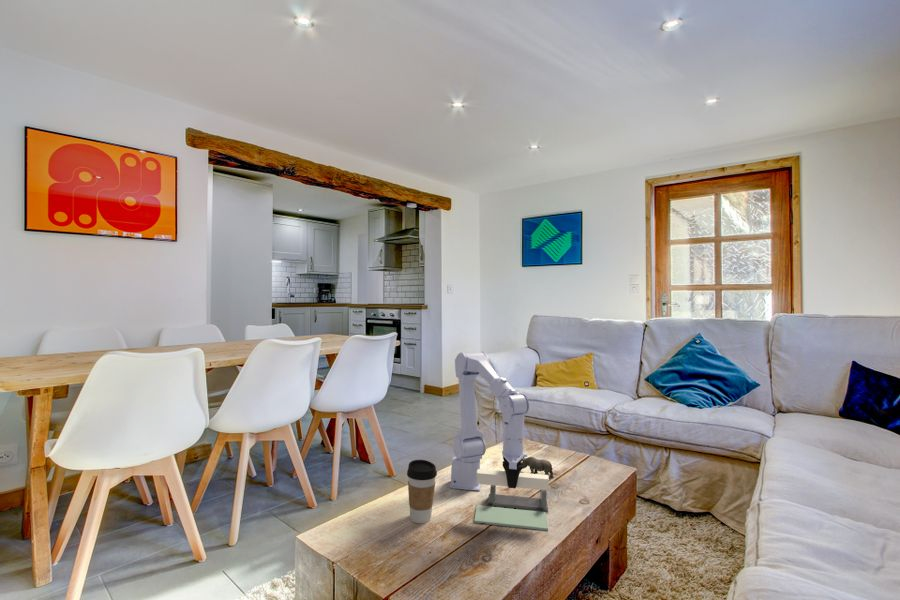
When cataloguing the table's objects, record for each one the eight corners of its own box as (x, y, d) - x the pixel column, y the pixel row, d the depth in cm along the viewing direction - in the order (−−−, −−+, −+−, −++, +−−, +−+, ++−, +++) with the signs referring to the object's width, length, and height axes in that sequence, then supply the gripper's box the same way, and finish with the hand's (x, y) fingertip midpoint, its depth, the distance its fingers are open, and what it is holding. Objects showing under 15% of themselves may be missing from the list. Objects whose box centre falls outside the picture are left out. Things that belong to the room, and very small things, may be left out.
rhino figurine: (518, 468, 159) (518, 451, 159) (554, 476, 152) (555, 459, 152) (513, 471, 155) (514, 455, 155) (551, 481, 148) (551, 463, 148)
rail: (476, 483, 122) (476, 473, 122) (477, 479, 125) (477, 468, 125) (548, 490, 119) (548, 479, 119) (547, 485, 122) (548, 475, 122)
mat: (474, 522, 119) (474, 520, 119) (476, 507, 128) (476, 505, 128) (548, 530, 116) (548, 528, 116) (545, 514, 125) (545, 512, 125)
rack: (487, 506, 128) (488, 486, 128) (489, 496, 135) (489, 477, 135) (548, 512, 126) (548, 492, 126) (546, 501, 133) (546, 482, 133)
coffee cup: (422, 507, 126) (423, 456, 126) (441, 518, 120) (443, 465, 120) (399, 517, 121) (400, 463, 120) (418, 529, 114) (420, 473, 114)
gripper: (528, 446, 114) (527, 497, 114) (526, 430, 128) (525, 475, 128) (502, 444, 115) (500, 495, 115) (503, 428, 129) (501, 473, 129)
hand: (511, 484), depth 122 cm, fingers closed on rail, 3 cm apart
